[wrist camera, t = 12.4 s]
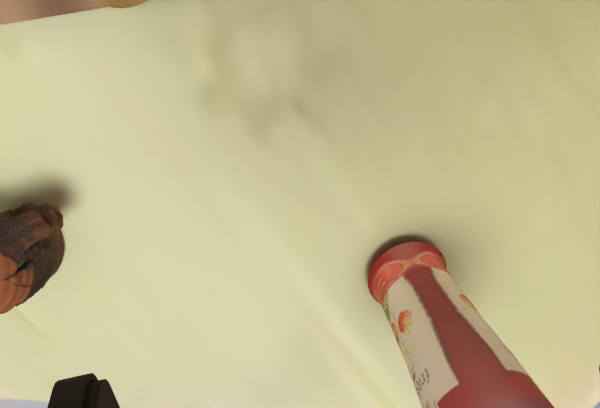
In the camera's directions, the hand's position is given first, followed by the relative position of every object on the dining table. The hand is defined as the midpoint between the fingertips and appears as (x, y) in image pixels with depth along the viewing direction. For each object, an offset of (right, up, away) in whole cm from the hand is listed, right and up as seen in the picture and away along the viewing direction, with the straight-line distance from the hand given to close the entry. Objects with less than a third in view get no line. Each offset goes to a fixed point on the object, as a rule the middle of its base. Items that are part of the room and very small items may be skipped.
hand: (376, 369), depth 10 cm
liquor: (+7, -2, +38) cm, 39 cm away
